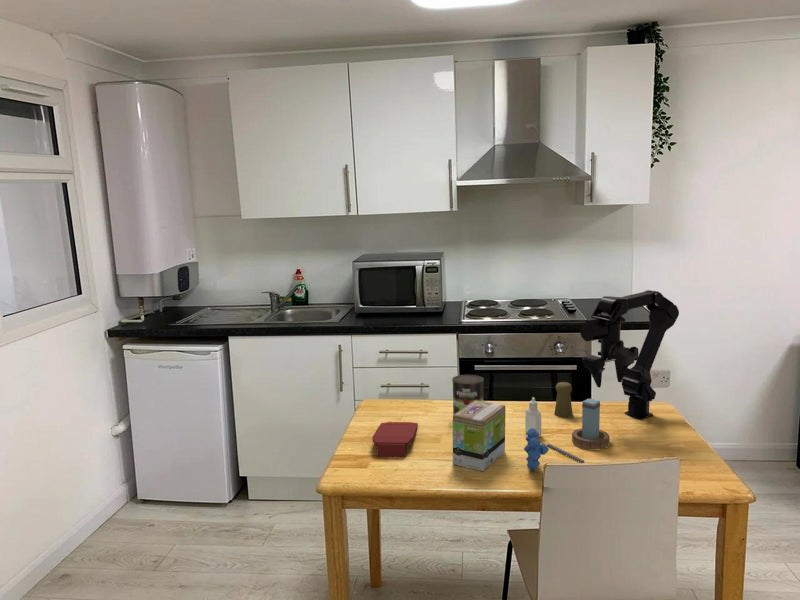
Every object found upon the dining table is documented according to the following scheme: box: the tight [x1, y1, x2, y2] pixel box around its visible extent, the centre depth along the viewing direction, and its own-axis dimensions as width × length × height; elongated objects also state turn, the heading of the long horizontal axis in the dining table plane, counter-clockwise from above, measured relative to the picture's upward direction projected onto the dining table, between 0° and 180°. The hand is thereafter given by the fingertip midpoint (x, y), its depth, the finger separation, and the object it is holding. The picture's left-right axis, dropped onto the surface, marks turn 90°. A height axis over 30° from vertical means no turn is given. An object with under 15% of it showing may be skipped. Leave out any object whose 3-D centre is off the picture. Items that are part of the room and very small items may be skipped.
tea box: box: [452, 400, 506, 472], centre depth 176 cm, size 15×10×15 cm, turn 148°
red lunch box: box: [372, 421, 419, 458], centre depth 193 cm, size 12×5×25 cm
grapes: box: [523, 428, 550, 471], centre depth 168 cm, size 12×7×12 cm, turn 172°
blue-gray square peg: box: [581, 398, 601, 440], centre depth 184 cm, size 4×4×13 cm
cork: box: [554, 381, 574, 419], centre depth 208 cm, size 6×6×11 cm
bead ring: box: [571, 428, 611, 450], centre depth 185 cm, size 10×10×2 cm
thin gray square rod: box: [546, 443, 585, 463], centre depth 178 cm, size 1×14×1 cm, turn 28°
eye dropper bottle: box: [524, 396, 542, 438], centre depth 192 cm, size 4×6×12 cm
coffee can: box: [451, 374, 485, 416], centre depth 207 cm, size 10×10×14 cm
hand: (609, 384), depth 198 cm, fingers open, 9 cm apart
